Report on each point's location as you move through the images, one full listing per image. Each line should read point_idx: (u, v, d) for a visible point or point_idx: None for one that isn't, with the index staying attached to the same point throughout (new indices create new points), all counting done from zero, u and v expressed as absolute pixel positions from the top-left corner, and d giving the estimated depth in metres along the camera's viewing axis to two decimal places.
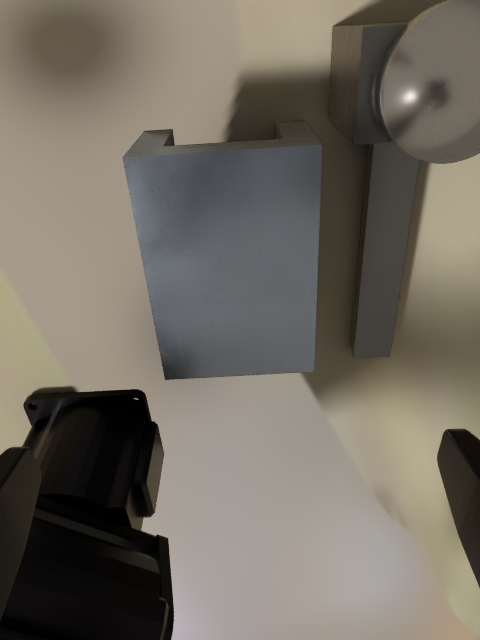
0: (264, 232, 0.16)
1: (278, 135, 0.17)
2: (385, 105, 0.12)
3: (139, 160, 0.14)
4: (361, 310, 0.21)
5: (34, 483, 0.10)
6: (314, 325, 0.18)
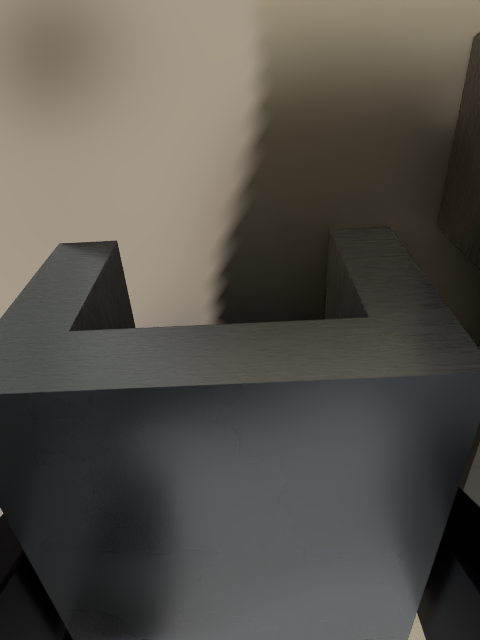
0: (315, 525, 0.07)
1: (340, 270, 0.08)
2: None
3: None
4: None
5: None
6: None
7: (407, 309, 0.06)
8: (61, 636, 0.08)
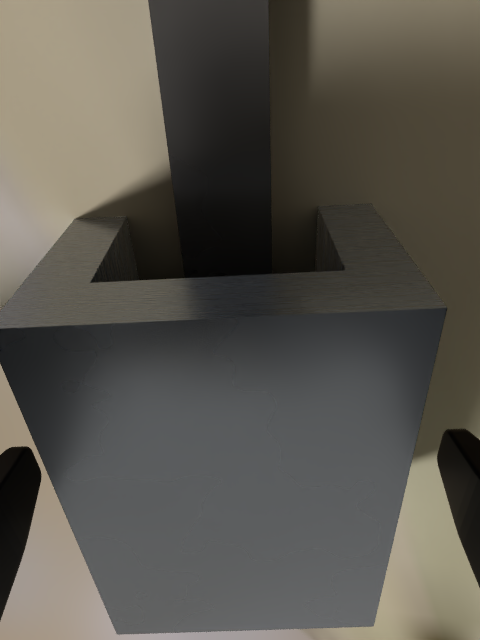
0: (301, 453, 0.08)
1: (325, 238, 0.09)
2: None
3: (24, 334, 0.06)
4: None
5: (34, 483, 0.10)
6: (382, 575, 0.10)
7: (378, 264, 0.07)
8: None
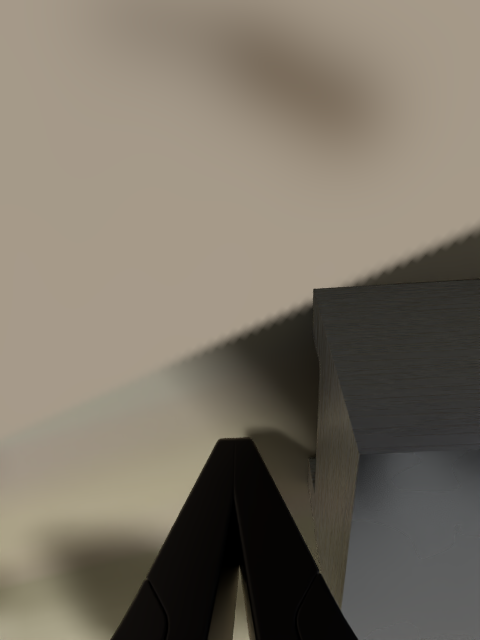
0: None
1: None
2: None
3: None
4: None
5: None
6: None
7: None
8: (232, 631, 0.08)
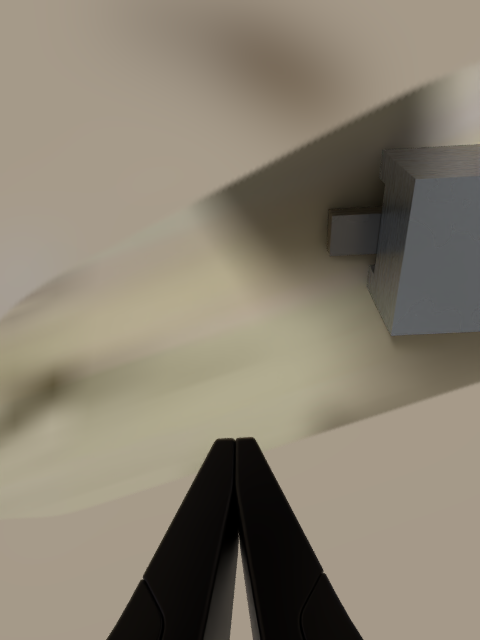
0: None
1: None
2: None
3: None
4: None
5: None
6: (449, 331, 0.18)
7: None
8: (229, 631, 0.08)
